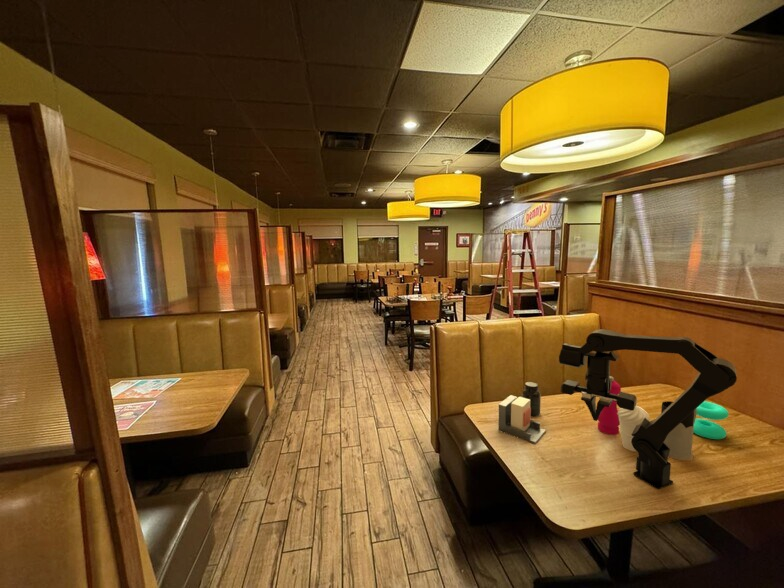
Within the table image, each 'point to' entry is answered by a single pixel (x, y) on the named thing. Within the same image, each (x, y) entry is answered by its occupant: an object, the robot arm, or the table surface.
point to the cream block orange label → (520, 413)
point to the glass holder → (681, 436)
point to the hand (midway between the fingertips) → (595, 420)
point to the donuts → (709, 427)
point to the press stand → (529, 434)
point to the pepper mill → (610, 413)
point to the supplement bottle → (532, 397)
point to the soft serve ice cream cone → (630, 424)
